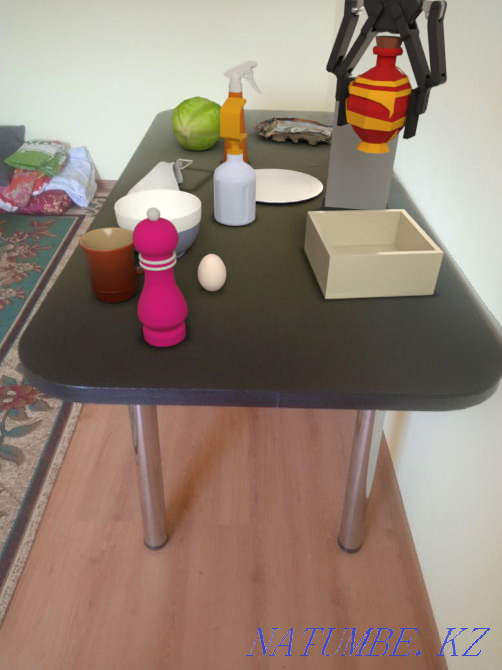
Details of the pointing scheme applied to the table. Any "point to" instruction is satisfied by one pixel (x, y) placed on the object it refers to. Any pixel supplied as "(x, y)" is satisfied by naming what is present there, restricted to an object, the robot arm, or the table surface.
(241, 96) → the spray bottle
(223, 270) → the egg
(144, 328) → the pepper mill
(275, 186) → the plate
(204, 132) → the lettuce
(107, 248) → the mug
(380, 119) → the potion bottle
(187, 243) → the bowl
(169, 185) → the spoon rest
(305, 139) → the grey piece
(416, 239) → the cream open box
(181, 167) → the binder clip
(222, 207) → the white cleaner bottle
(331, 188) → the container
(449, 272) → the table surface
